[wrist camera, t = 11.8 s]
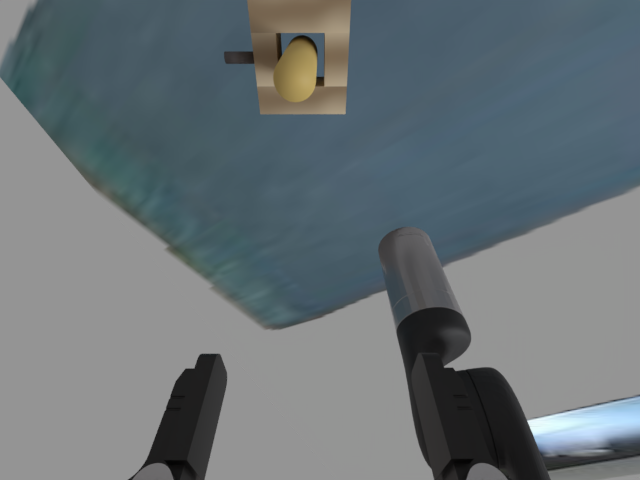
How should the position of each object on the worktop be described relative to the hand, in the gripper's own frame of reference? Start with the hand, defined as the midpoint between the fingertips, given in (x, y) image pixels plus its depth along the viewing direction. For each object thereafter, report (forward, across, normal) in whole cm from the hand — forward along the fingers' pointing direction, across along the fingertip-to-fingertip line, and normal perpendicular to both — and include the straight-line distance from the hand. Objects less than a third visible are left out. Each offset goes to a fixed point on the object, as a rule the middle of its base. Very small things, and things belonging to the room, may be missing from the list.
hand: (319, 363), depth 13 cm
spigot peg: (+36, -2, +6) cm, 37 cm away
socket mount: (+36, -4, +6) cm, 37 cm away
